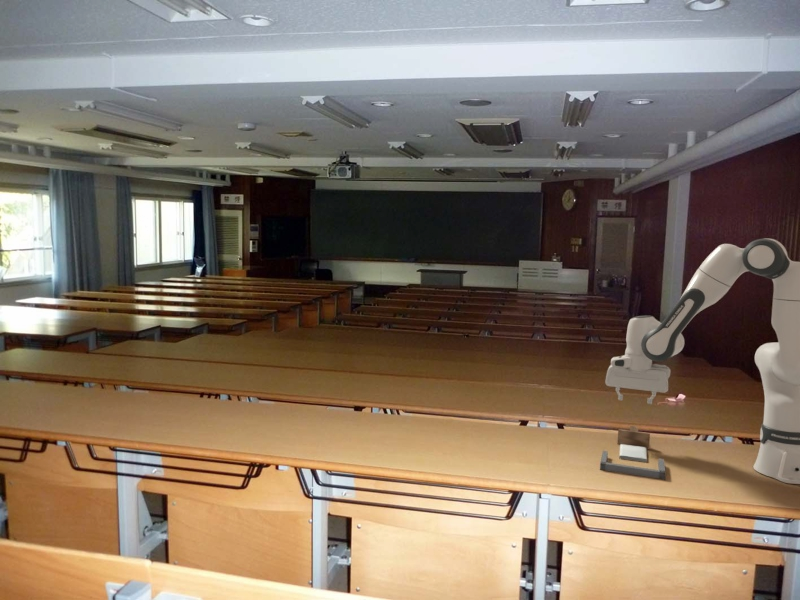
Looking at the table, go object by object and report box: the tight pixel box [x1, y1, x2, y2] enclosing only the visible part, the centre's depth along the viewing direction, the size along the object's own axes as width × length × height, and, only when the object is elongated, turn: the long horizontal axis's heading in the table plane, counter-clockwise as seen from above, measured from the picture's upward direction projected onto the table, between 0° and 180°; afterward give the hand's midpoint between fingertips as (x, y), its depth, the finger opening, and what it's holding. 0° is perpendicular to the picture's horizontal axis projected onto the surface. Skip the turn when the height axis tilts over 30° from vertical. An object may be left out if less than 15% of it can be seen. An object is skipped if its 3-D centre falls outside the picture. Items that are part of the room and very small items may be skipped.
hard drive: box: [618, 444, 648, 463], centre depth 200 cm, size 2×8×12 cm
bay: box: [599, 450, 666, 480], centre depth 187 cm, size 18×12×2 cm
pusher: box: [617, 425, 651, 449], centre depth 211 cm, size 10×7×5 cm
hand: (634, 401), depth 212 cm, fingers open, 8 cm apart
